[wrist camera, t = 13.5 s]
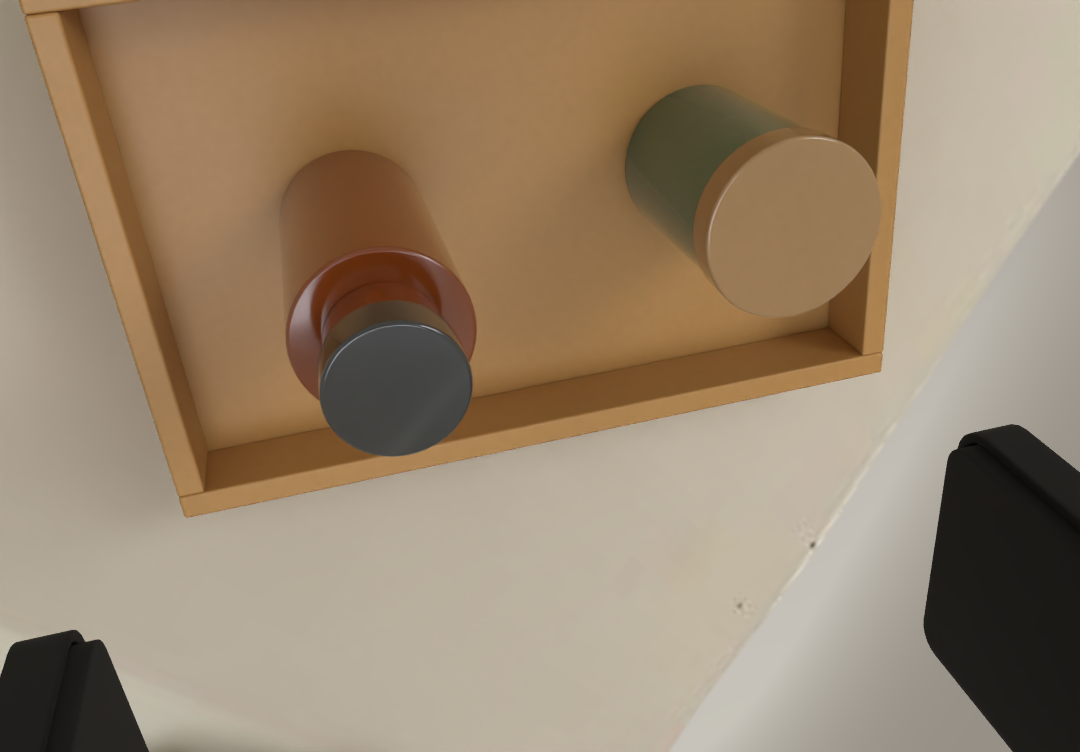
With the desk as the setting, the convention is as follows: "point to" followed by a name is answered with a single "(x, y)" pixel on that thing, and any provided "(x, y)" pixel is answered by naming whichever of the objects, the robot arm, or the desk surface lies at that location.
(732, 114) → the jar
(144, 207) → the tray
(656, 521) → the desk surface
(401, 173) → the spice bottle
